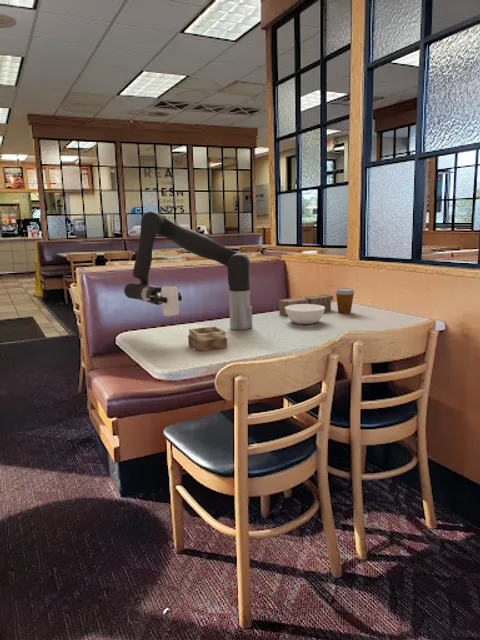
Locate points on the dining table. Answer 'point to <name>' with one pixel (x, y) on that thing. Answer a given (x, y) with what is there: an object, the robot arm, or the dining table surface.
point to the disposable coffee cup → (344, 300)
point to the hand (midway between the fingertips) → (173, 299)
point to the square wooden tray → (207, 333)
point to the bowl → (304, 313)
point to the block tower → (306, 302)
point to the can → (170, 300)
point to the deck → (207, 344)
